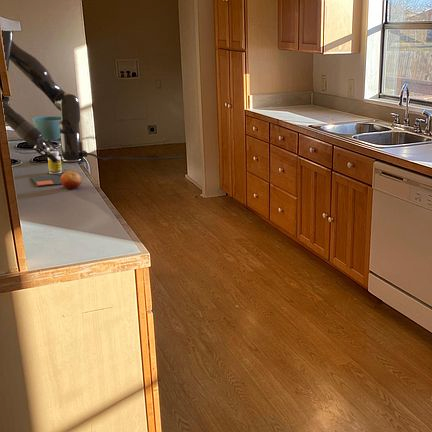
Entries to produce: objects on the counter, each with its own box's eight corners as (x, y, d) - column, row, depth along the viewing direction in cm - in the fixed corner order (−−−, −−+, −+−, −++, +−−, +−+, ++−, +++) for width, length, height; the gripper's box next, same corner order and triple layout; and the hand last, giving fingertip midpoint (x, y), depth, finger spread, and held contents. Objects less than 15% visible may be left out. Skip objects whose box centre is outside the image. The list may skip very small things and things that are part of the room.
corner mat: (69, 174, 258) (69, 173, 258) (77, 182, 245) (77, 181, 245) (31, 178, 250) (31, 177, 250) (37, 186, 237) (37, 185, 237)
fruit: (68, 180, 242) (74, 166, 238) (81, 192, 240) (86, 177, 236) (53, 184, 235) (58, 170, 231) (66, 196, 233) (72, 181, 230)
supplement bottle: (57, 174, 257) (55, 153, 254) (46, 173, 258) (44, 152, 255) (64, 171, 262) (62, 151, 259) (53, 171, 263) (51, 150, 260)
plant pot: (33, 137, 341) (31, 116, 338) (65, 135, 350) (63, 115, 346) (36, 142, 326) (34, 121, 322) (69, 140, 335) (68, 119, 331)
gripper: (27, 129, 247) (58, 157, 251) (40, 124, 260) (69, 151, 264) (16, 141, 248) (47, 169, 252) (30, 136, 262) (58, 161, 266)
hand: (58, 159), depth 258 cm, fingers closed on supplement bottle, 5 cm apart
